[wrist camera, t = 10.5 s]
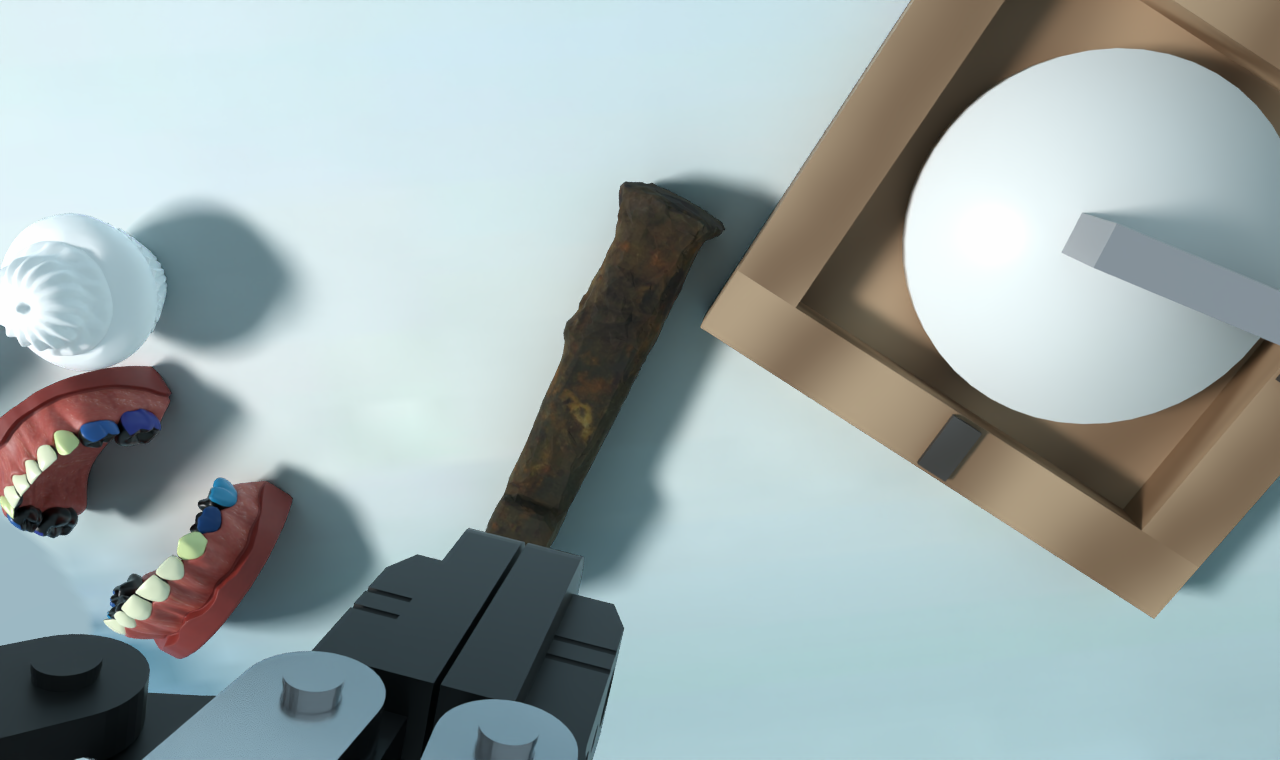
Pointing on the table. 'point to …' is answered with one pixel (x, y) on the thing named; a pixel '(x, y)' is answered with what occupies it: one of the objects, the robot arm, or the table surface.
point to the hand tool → (602, 356)
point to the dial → (1098, 236)
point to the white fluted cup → (80, 292)
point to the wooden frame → (910, 363)
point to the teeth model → (57, 493)
